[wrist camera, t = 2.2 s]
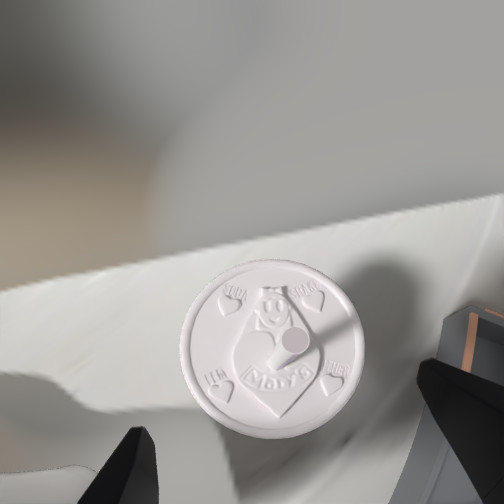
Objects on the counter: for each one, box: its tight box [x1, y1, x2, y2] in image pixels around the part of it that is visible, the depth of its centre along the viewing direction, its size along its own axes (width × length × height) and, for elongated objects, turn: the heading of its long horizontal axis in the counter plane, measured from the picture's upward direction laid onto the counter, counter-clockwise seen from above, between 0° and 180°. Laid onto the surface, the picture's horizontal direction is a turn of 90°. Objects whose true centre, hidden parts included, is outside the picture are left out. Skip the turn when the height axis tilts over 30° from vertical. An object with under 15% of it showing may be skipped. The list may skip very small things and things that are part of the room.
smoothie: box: [179, 259, 365, 439], centre depth 12 cm, size 6×6×14 cm
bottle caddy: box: [389, 305, 504, 504], centre depth 13 cm, size 25×9×4 cm, turn 159°
